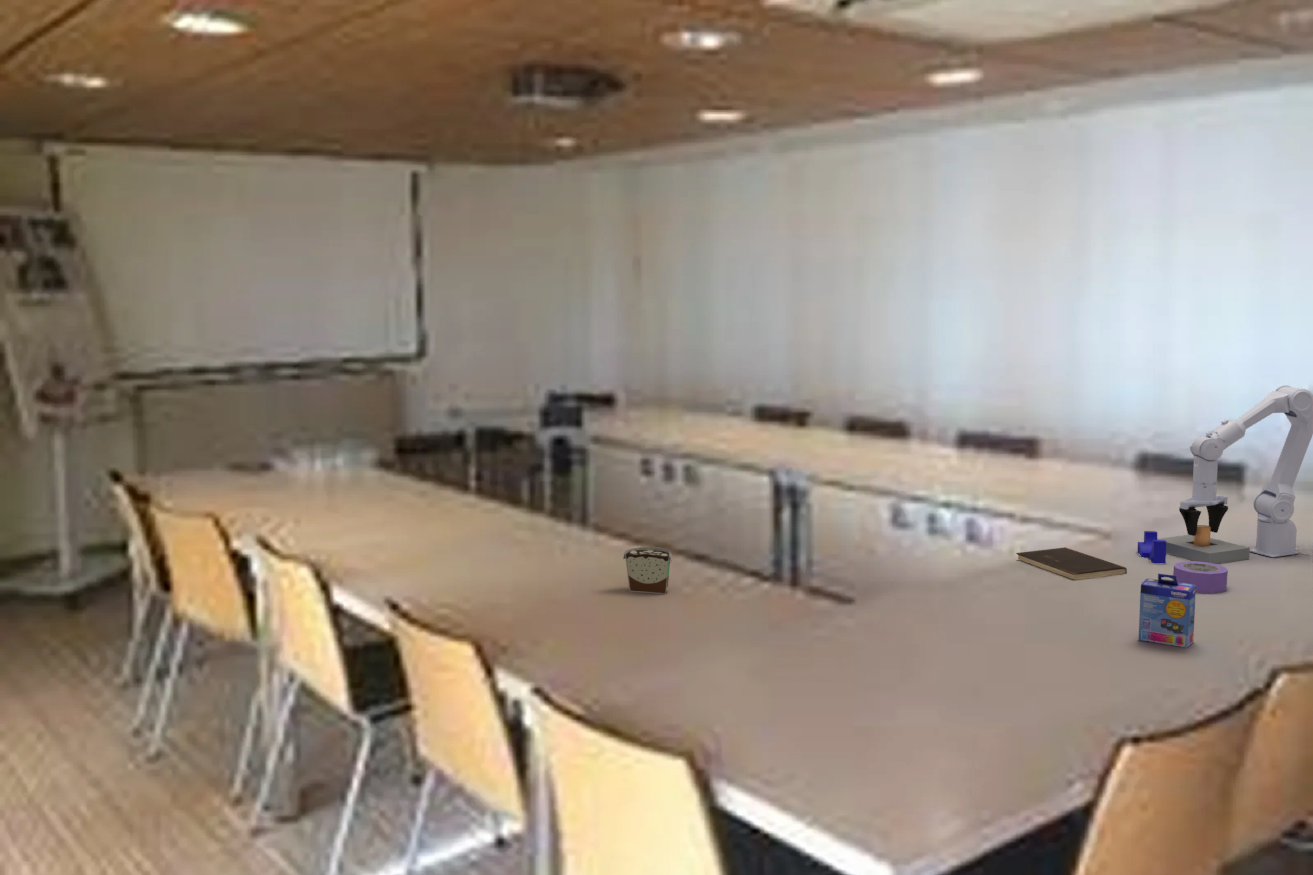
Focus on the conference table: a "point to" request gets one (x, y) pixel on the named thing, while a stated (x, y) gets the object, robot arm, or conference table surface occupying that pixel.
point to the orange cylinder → (1202, 536)
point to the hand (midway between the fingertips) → (1202, 533)
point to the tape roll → (1202, 576)
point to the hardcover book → (1071, 563)
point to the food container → (648, 569)
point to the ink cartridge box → (1167, 611)
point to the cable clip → (1152, 547)
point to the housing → (1205, 550)
